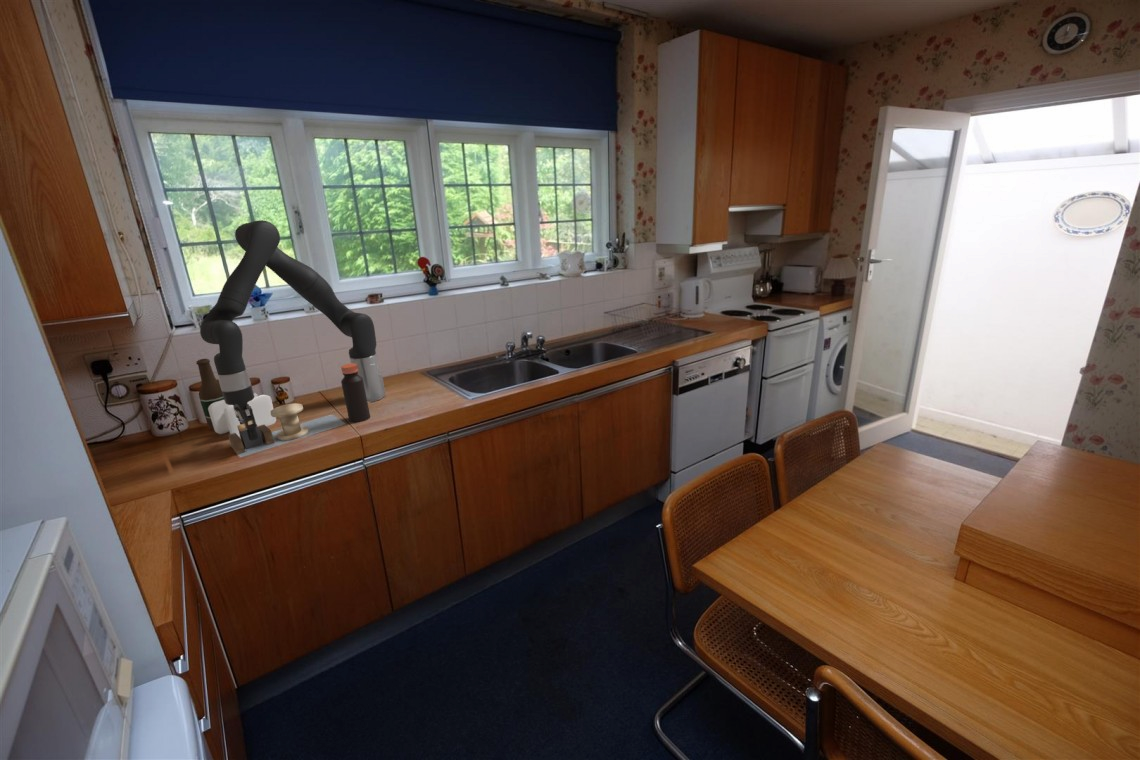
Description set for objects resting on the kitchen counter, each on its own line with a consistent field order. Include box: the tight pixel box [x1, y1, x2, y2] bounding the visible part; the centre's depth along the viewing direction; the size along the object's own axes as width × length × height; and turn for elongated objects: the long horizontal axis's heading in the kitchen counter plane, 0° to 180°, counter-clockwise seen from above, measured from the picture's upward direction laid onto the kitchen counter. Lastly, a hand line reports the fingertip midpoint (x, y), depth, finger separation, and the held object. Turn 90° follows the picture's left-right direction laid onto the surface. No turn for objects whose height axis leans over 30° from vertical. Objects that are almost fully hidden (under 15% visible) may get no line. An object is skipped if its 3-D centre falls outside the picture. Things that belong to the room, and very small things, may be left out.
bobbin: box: [270, 403, 309, 441], centre depth 158 cm, size 9×9×9 cm
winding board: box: [236, 414, 347, 459], centre depth 160 cm, size 31×13×1 cm, turn 134°
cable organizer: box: [208, 392, 277, 438], centre depth 165 cm, size 15×11×12 cm
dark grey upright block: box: [237, 422, 263, 449], centre depth 152 cm, size 4×4×7 cm
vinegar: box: [340, 362, 371, 424], centre depth 167 cm, size 7×7×20 cm
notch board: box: [227, 425, 274, 455], centre depth 153 cm, size 10×8×4 cm
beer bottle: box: [196, 358, 224, 431], centre depth 168 cm, size 8×8×24 cm
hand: (250, 435), depth 153 cm, fingers open, 8 cm apart
